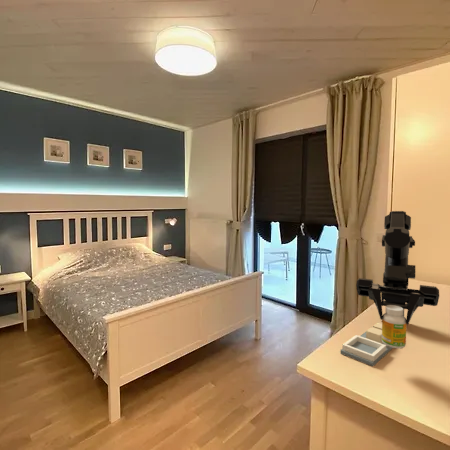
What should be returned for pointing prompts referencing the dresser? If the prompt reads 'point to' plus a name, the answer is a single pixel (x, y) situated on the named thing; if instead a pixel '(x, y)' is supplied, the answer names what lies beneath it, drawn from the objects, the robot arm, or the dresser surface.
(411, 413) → the dresser surface
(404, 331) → the supplement bottle
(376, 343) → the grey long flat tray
